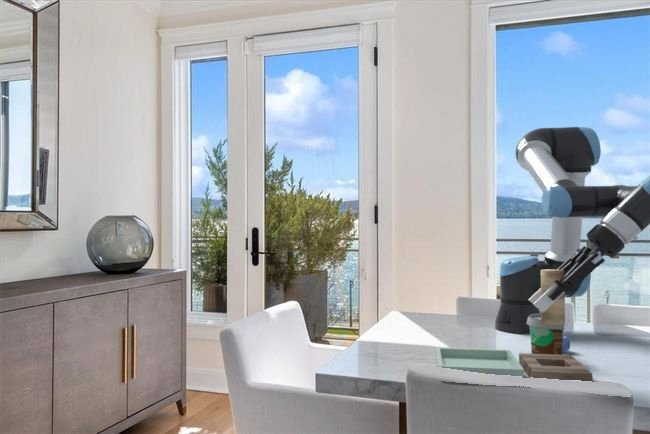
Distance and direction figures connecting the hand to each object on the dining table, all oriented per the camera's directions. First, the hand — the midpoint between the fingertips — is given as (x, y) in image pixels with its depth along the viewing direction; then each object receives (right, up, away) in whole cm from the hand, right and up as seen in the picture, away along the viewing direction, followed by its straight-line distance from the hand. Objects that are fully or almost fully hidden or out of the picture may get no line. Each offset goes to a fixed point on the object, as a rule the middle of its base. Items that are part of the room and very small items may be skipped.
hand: (535, 305), depth 122 cm
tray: (-13, -16, +2) cm, 20 cm away
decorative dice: (+15, -16, +21) cm, 30 cm away
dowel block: (+4, -15, -1) cm, 16 cm away
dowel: (+4, -4, -1) cm, 5 cm away
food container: (+8, -16, +16) cm, 24 cm away
